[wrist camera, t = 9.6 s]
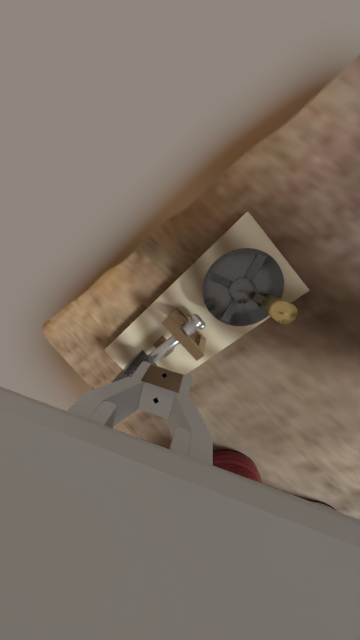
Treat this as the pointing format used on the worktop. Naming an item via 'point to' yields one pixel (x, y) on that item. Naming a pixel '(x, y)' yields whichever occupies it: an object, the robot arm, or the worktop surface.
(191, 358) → the board
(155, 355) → the hammer
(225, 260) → the handwheel
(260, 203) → the worktop surface
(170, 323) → the eye post
